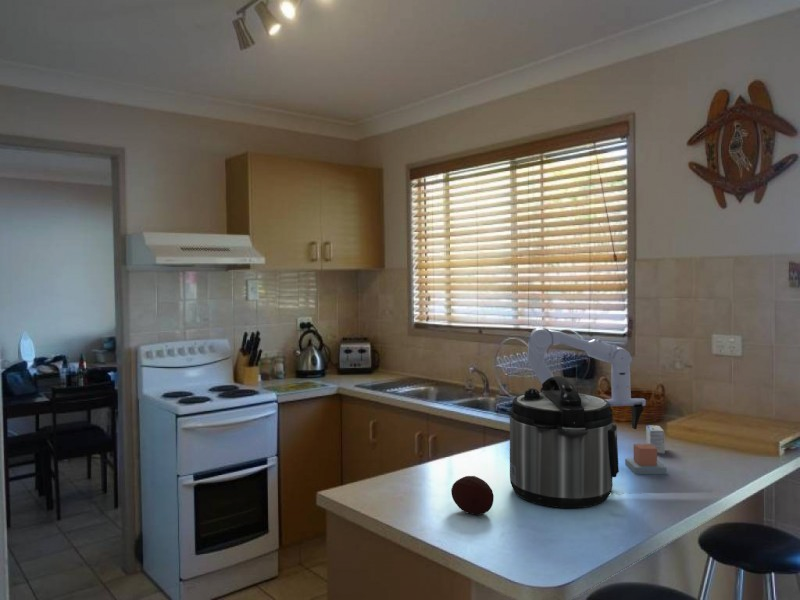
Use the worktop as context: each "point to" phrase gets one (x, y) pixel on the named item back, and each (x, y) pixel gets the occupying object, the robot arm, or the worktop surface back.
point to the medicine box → (655, 437)
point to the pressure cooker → (562, 446)
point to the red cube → (645, 454)
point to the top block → (645, 468)
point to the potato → (472, 495)
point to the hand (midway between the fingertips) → (622, 428)
